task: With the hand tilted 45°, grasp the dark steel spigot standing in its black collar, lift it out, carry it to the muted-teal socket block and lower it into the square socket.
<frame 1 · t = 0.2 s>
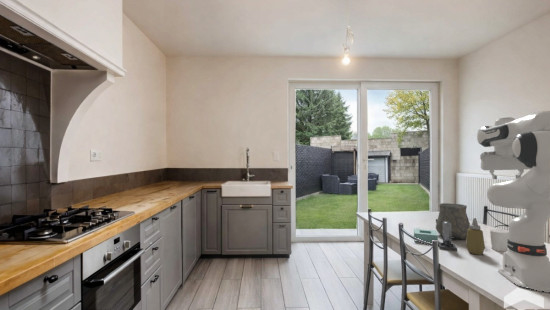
hand: (506, 178, 138), 39 cm above the table, tool pointing down, fingers open, 8 cm apart
white cup: (499, 249, 150), on the table
spigot: (447, 235, 153), in the mount collar
mount collar: (447, 247, 153), on the table
socket block: (425, 240, 167), on the table
squeeze bottle: (475, 253, 145), on the table
vessel: (452, 237, 174), on the table
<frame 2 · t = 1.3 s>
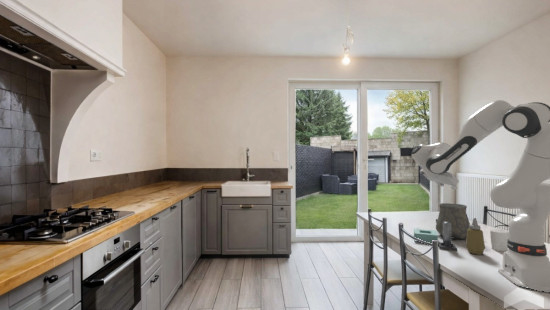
hand: (448, 187, 154), 33 cm above the table, tool tilted 45°, fingers open, 8 cm apart
nothing on the table moved.
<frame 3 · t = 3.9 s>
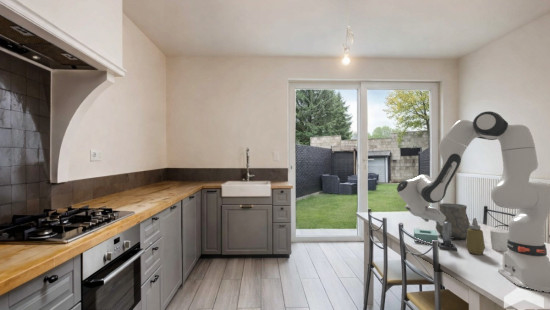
hand: (434, 222, 151), 14 cm above the table, tool tilted 45°, fingers open, 8 cm apart
nothing on the table moved.
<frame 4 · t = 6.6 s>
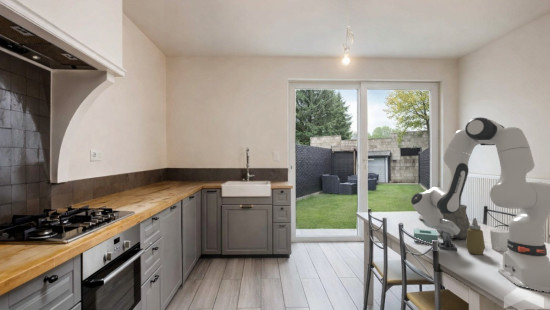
hand: (448, 234, 154), 7 cm above the table, tool tilted 45°, fingers closed on spigot, 4 cm apart
spigot: (447, 235, 153), in the mount collar, touching gripper
everything else where it was.
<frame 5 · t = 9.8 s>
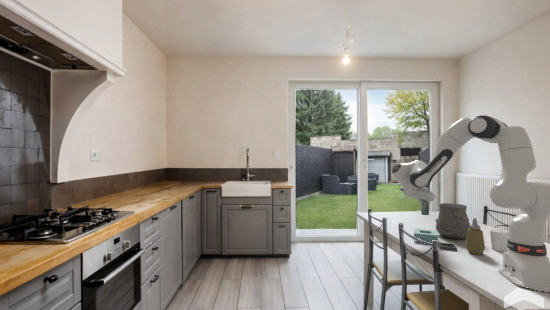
hand: (425, 202, 168), 23 cm above the table, tool tilted 45°, fingers closed on spigot, 4 cm apart
spigot: (424, 202, 168), point 22 cm above the table, touching gripper
everything else where it was.
when the fingers open (10 cm above the table, at t = 13.0 s): spigot drops 2 cm, resting in socket block.
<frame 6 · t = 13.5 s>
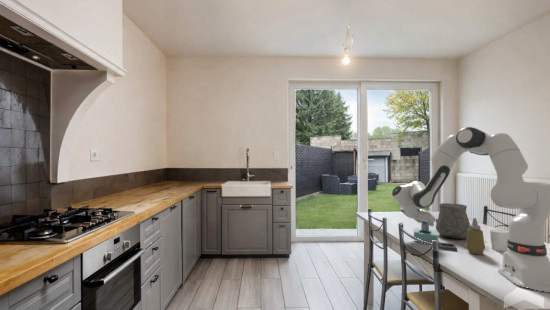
hand: (426, 223, 168), 10 cm above the table, tool tilted 45°, fingers open, 8 cm apart
spigot: (425, 228, 168), in the socket block
everything else where it was.
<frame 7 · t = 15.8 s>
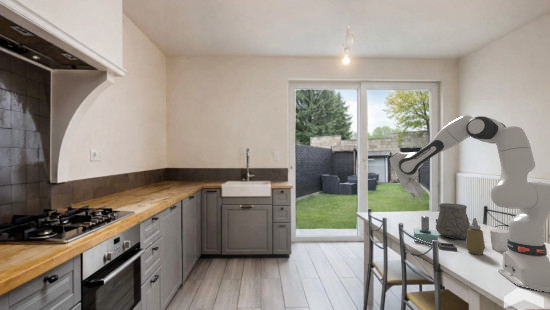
hand: (417, 198, 167), 25 cm above the table, tool tilted 25°, fingers open, 8 cm apart
nothing on the table moved.
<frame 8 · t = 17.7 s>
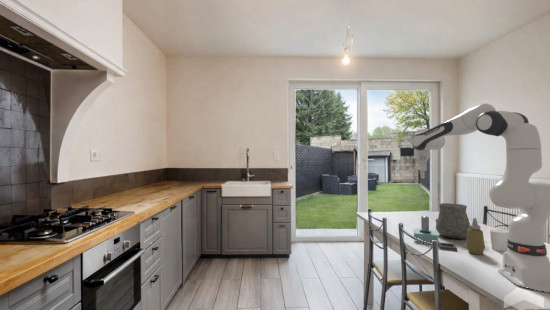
hand: (422, 177, 172), 37 cm above the table, tool pointing down, fingers open, 8 cm apart
nothing on the table moved.
at the end: spigot 0.0 cm off-centre on the socket block, point 7.0 cm above the socket block's base; spigot tilted 0°; the gripper is holding nothing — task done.
